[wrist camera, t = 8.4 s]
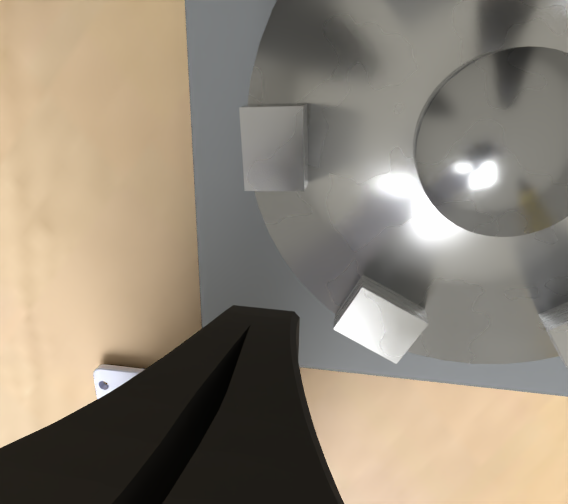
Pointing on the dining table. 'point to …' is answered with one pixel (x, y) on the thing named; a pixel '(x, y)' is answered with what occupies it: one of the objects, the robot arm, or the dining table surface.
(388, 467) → the dining table surface
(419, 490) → the dining table surface
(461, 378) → the boss plate
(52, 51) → the dining table surface
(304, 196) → the grey turntable disc
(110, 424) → the robot arm
